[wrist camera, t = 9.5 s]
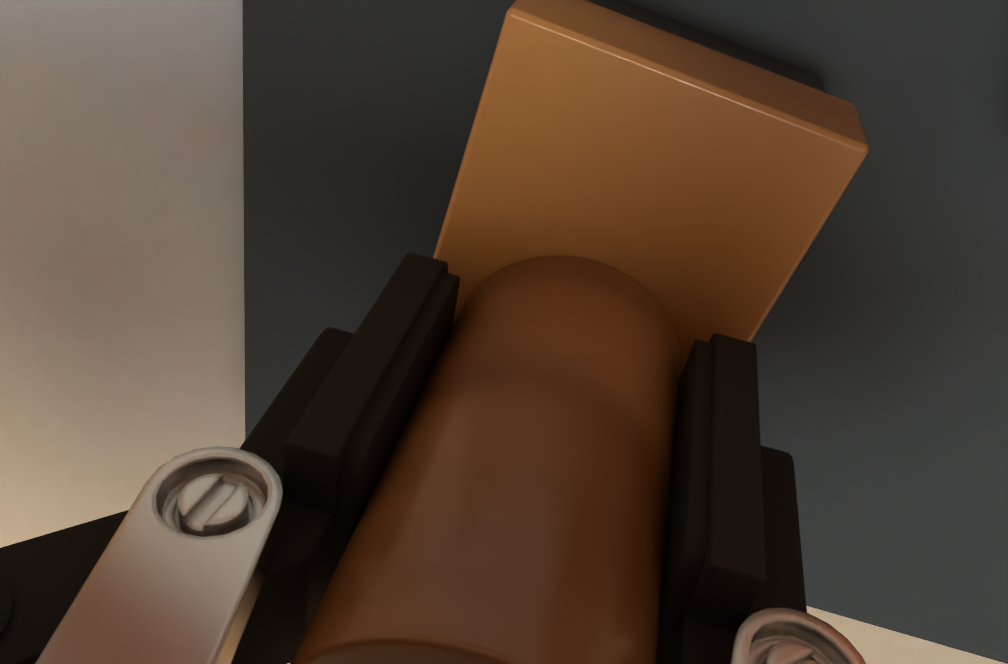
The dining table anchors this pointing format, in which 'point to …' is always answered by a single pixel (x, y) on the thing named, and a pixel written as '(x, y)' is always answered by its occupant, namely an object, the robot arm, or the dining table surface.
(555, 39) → the stamp
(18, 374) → the dining table surface
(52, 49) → the dining table surface
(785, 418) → the mat
